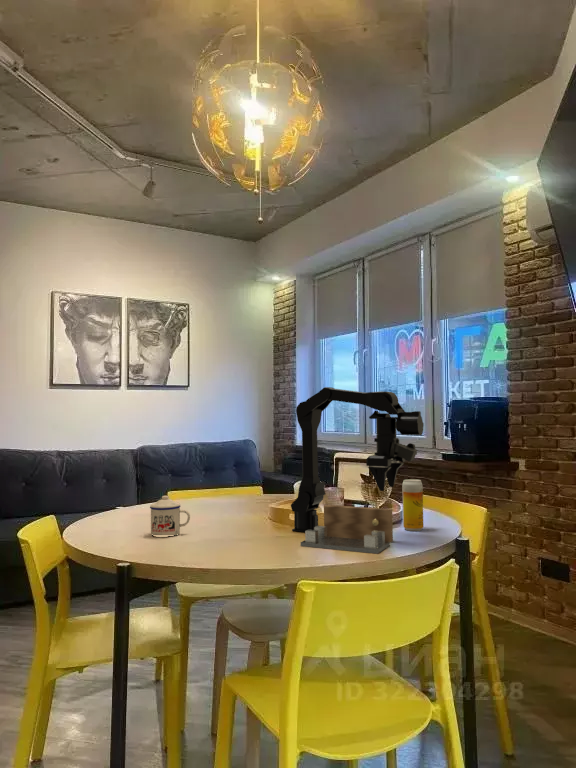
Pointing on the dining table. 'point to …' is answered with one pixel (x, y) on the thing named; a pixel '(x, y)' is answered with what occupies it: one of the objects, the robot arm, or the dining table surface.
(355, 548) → the rail
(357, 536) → the walnut door
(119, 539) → the dining table surface
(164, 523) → the teacup with lid
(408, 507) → the beer can
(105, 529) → the dining table surface
